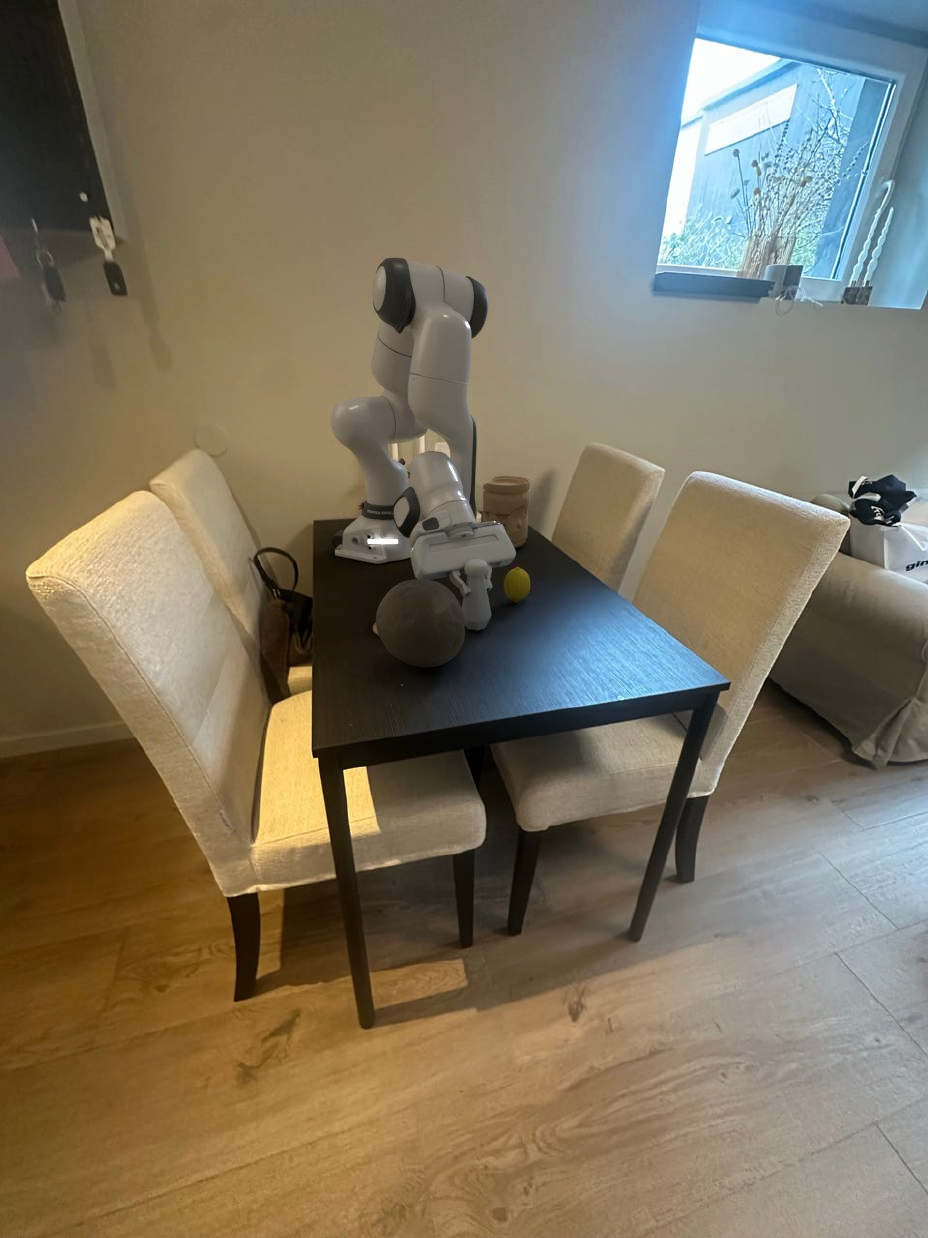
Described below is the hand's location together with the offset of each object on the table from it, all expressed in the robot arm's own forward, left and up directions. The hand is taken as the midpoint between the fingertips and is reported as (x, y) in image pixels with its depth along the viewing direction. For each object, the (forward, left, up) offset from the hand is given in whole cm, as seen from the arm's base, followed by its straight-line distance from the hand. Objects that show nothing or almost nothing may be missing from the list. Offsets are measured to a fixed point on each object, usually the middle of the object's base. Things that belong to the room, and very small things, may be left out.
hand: (477, 592), depth 91 cm
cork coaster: (-15, -3, -8) cm, 18 cm away
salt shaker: (0, +1, -7) cm, 7 cm away
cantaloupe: (-6, -14, -8) cm, 17 cm away
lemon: (+5, +15, -8) cm, 18 cm away
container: (-6, +52, -8) cm, 53 cm away
